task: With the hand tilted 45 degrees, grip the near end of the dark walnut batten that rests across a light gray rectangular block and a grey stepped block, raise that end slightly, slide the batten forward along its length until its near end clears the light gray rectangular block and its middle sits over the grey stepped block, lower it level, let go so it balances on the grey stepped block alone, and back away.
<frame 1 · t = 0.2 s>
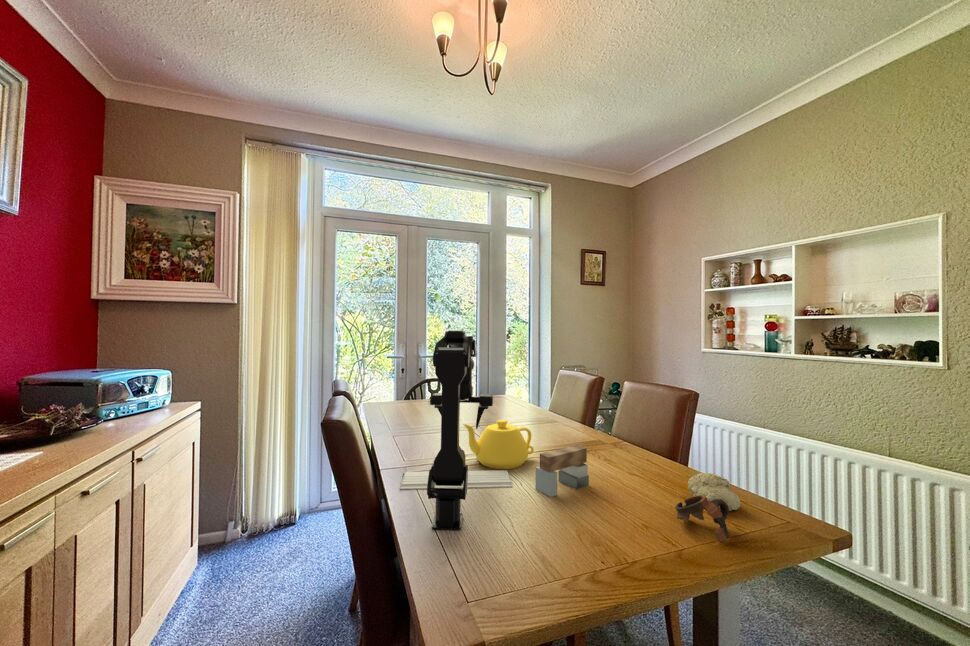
hand: (461, 428, 111), 14 cm above the table, tool pointing down, fingers open, 9 cm apart
light gray rectangular block: (546, 491, 101), on the table
grey stepped block: (573, 483, 106), on the table
dark curved fragment: (706, 530, 82), on the table
baseboard molding: (456, 484, 107), on the table
decorative item: (711, 504, 95), on the table
batten: (563, 465, 104), point 6 cm above the table, touching light gray rectangular block, grey stepped block
teapot: (498, 462, 124), on the table
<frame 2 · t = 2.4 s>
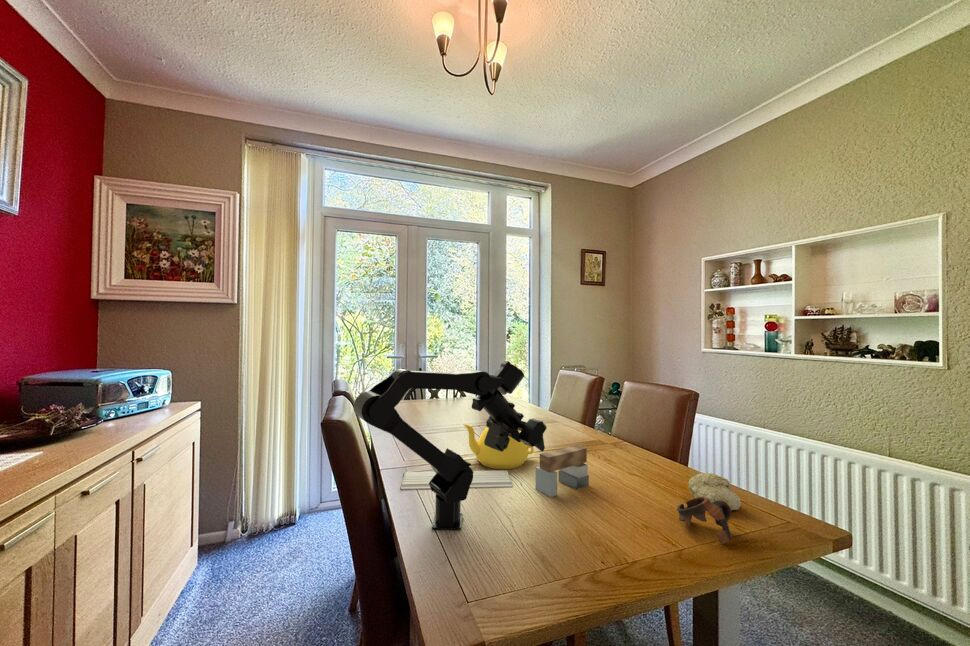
hand: (531, 445, 98), 13 cm above the table, tool tilted 45°, fingers open, 9 cm apart
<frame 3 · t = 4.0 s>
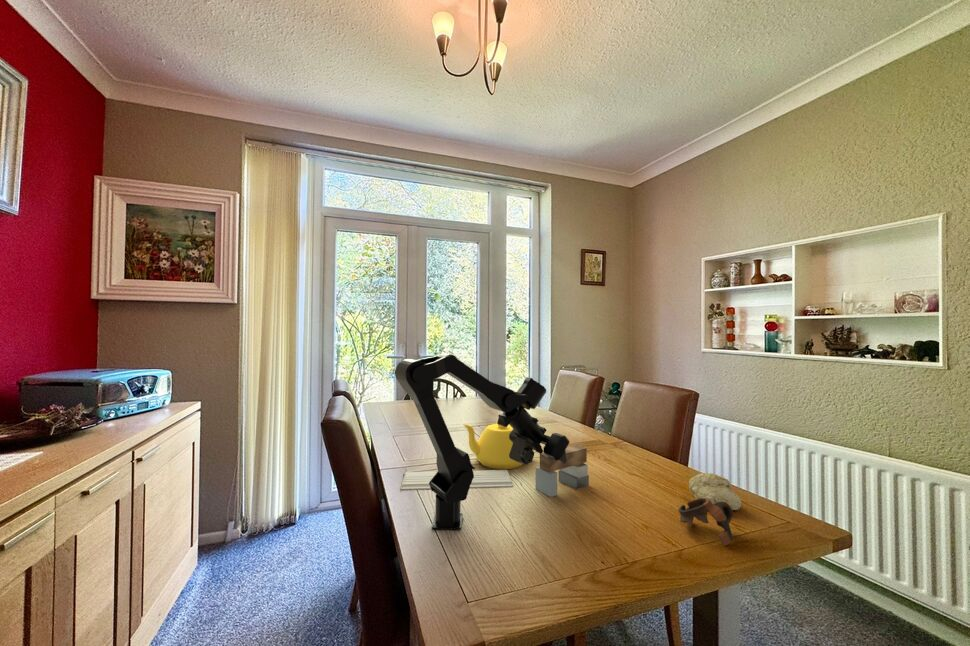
hand: (553, 457, 102), 9 cm above the table, tool tilted 45°, fingers open, 9 cm apart
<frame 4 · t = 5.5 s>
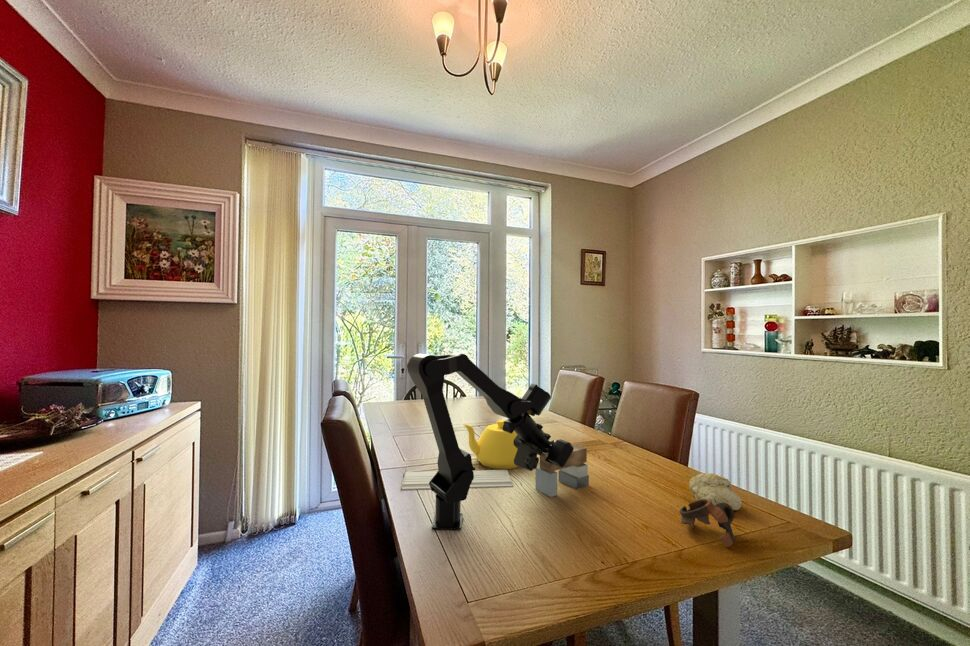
hand: (557, 463, 103), 7 cm above the table, tool tilted 45°, fingers closed on batten, 4 cm apart
batten: (563, 465, 104), point 6 cm above the table, touching gripper, light gray rectangular block, grey stepped block
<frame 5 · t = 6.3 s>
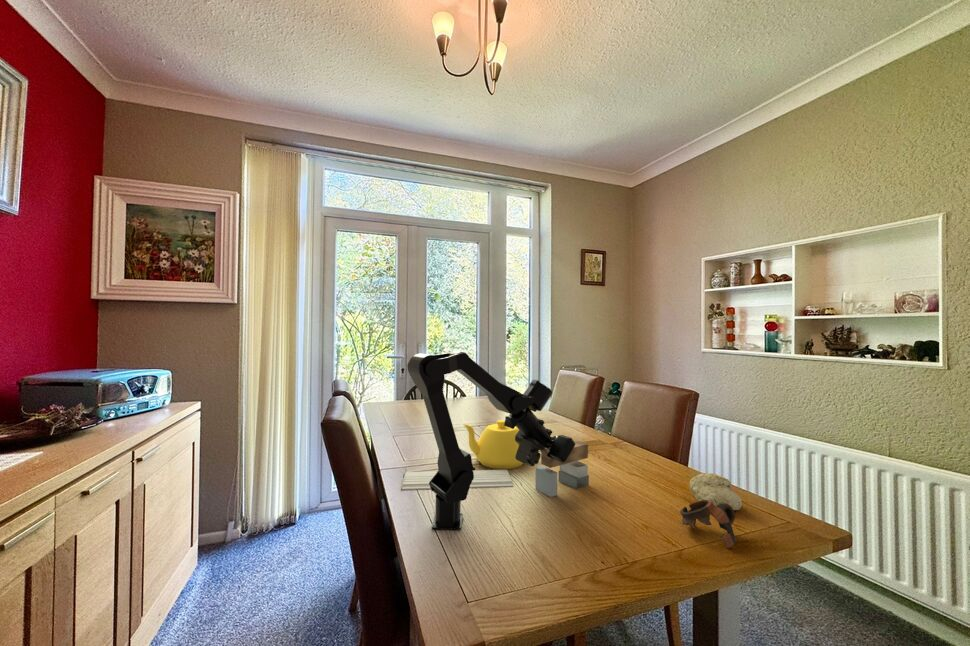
hand: (558, 458, 103), 8 cm above the table, tool tilted 45°, fingers closed on batten, 4 cm apart
batten: (565, 460, 105), point 7 cm above the table, touching gripper
when the fingers open (7 cm above the table, at t = 7.6 s): batten stays where it is, resting on grey stepped block.
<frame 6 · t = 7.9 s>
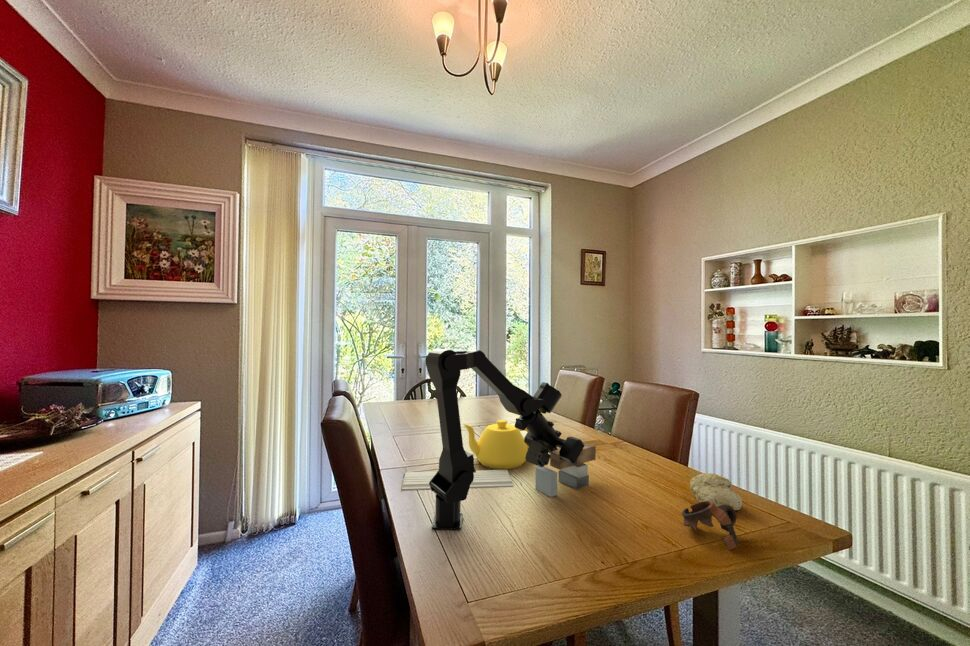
hand: (567, 460, 105), 7 cm above the table, tool tilted 45°, fingers open, 6 cm apart
batten: (573, 462, 107), point 6 cm above the table, touching grey stepped block
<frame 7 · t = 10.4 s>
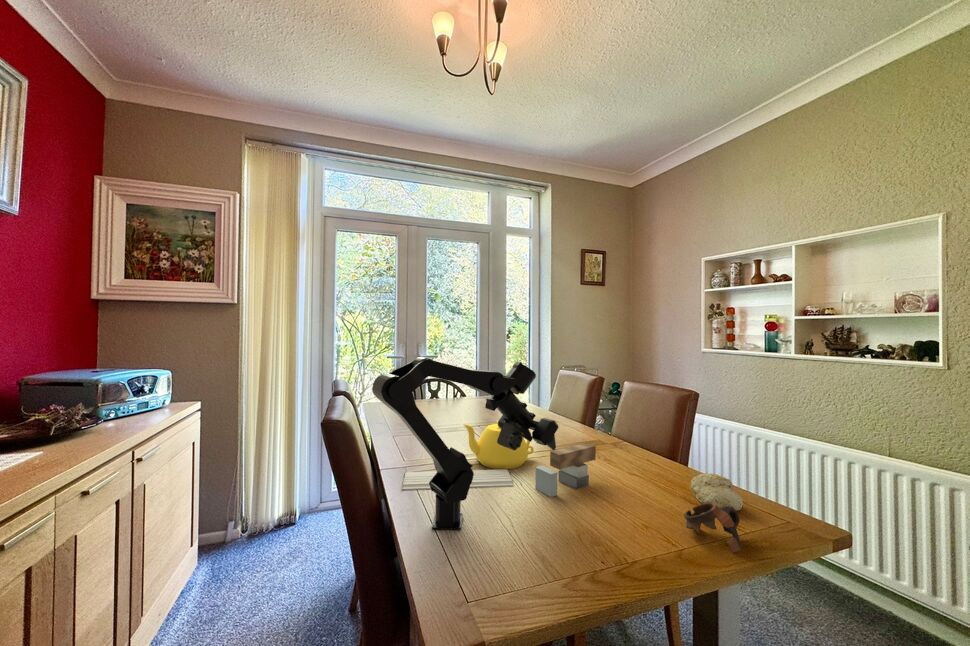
hand: (542, 444, 100), 13 cm above the table, tool tilted 45°, fingers open, 9 cm apart
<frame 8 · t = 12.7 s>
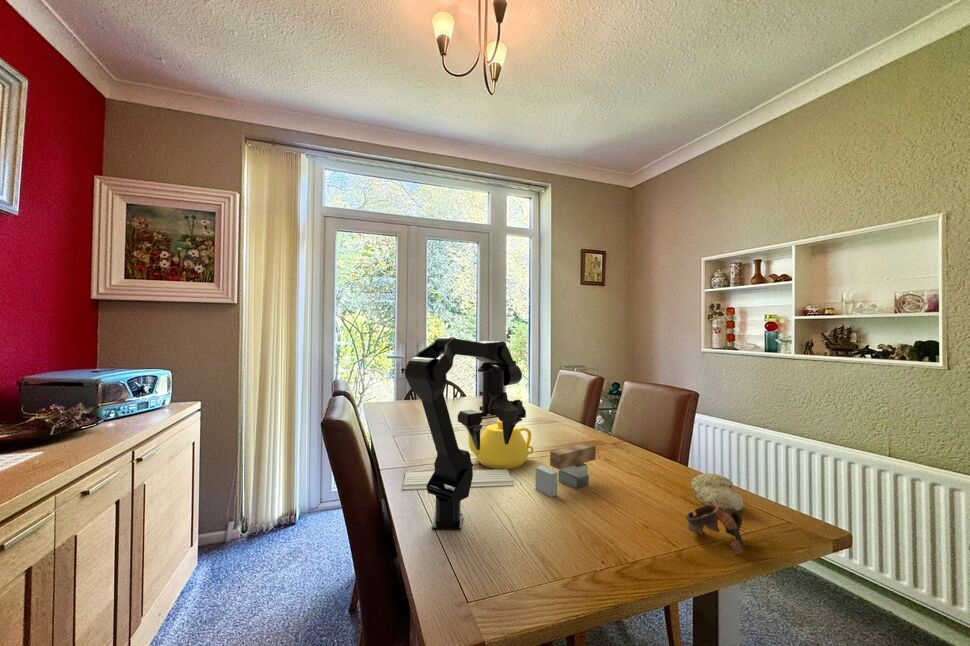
hand: (492, 446, 98), 13 cm above the table, tool pointing down, fingers open, 9 cm apart
at the end: batten 0.0 cm off-centre on the grey stepped block, point 6.0 cm above the grey stepped block's base; batten tilted 0°; batten touching grey stepped block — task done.
